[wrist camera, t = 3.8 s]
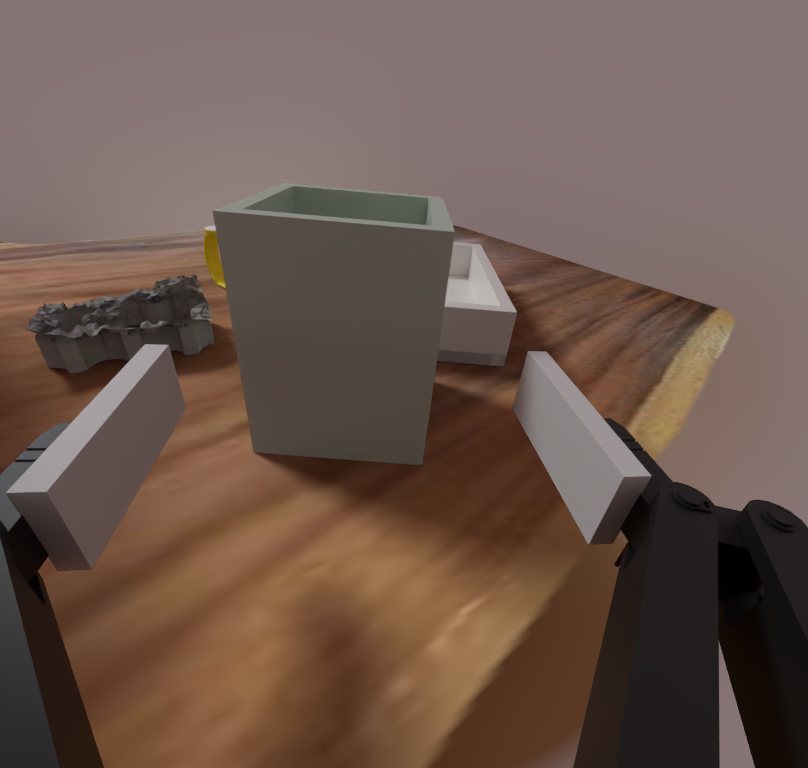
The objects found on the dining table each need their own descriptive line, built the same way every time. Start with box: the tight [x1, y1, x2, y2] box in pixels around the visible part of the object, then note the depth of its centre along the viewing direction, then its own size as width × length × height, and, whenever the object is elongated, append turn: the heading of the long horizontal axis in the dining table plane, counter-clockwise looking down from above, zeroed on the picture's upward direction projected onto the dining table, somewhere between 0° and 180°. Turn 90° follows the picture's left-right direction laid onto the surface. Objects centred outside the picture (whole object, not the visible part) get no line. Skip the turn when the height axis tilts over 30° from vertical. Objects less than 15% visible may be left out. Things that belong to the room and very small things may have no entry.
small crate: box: [213, 183, 455, 465], centre depth 22 cm, size 9×9×12 cm
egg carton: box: [24, 275, 214, 373], centre depth 29 cm, size 11×8×4 cm
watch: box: [203, 226, 226, 289], centre depth 39 cm, size 6×3×6 cm, turn 49°
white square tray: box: [437, 242, 517, 366], centre depth 38 cm, size 20×20×4 cm
